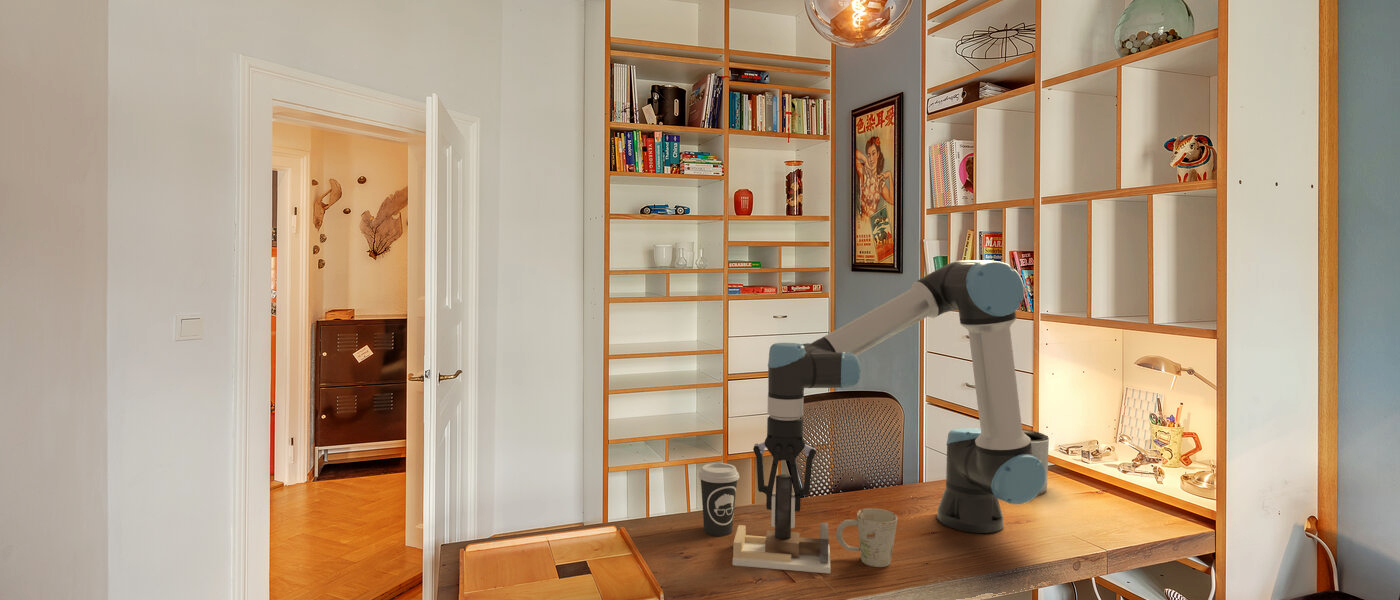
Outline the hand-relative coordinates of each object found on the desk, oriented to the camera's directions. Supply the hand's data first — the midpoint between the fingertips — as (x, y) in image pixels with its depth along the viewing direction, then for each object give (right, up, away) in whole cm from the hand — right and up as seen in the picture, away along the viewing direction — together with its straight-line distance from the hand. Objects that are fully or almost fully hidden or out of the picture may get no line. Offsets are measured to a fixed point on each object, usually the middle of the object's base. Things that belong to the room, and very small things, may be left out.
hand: (783, 524), depth 150 cm
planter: (+72, -6, +50) cm, 88 cm away
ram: (+3, -6, 0) cm, 6 cm away
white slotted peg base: (0, -7, 0) cm, 7 cm away
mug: (+17, -8, 0) cm, 19 cm away
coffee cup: (-14, -6, +15) cm, 21 cm away
